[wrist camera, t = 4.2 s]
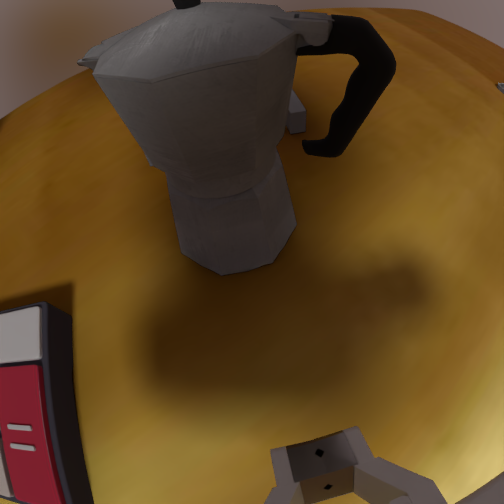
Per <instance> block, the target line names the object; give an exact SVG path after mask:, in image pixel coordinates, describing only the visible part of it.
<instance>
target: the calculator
mask: <svg viewBox="0 0 504 504" xmlns="http://www.w3.org/2000/svg"><path fill="white" fill-rule="evenodd" d="M72 369H73V348H72V317H71V316H70V315H69V314H67V313H65V312H63V311H62V310H60V309H58V308H56V307H54V306H53V305H51V304H49V303H47V302H45V301H42V302H38V303H33V304H29V305H25V306H21V307H16V308H12V309H8V310H4V311H0V498H3V499H6V500H10V501H13V502H16V503H20V504H94V501H93V497H92V493H91V489H90V484H89V480H88V475H87V471H86V466H85V461H84V455H83V450H82V444H81V438H80V432H79V427H78V420H77V414H76V407H75V399H74V391H73V382H72Z"/></svg>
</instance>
